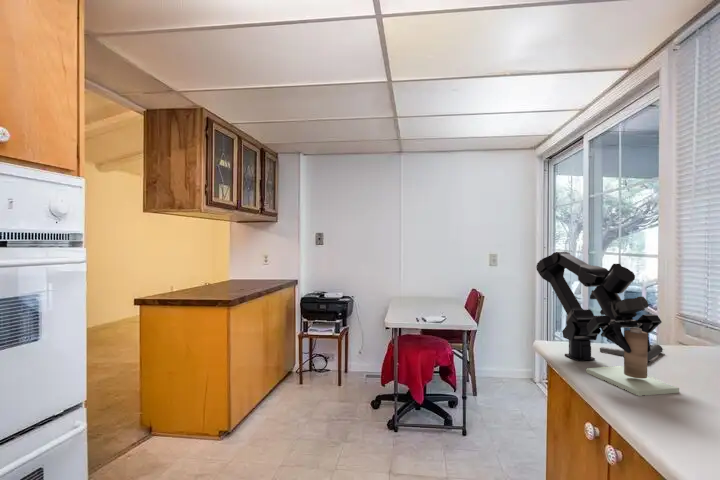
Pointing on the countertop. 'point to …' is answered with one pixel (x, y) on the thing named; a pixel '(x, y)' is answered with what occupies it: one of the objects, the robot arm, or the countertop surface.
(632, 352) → the brown capped cylinder
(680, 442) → the countertop surface
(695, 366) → the countertop surface
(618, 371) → the serving board
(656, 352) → the door handle
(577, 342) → the robot arm
